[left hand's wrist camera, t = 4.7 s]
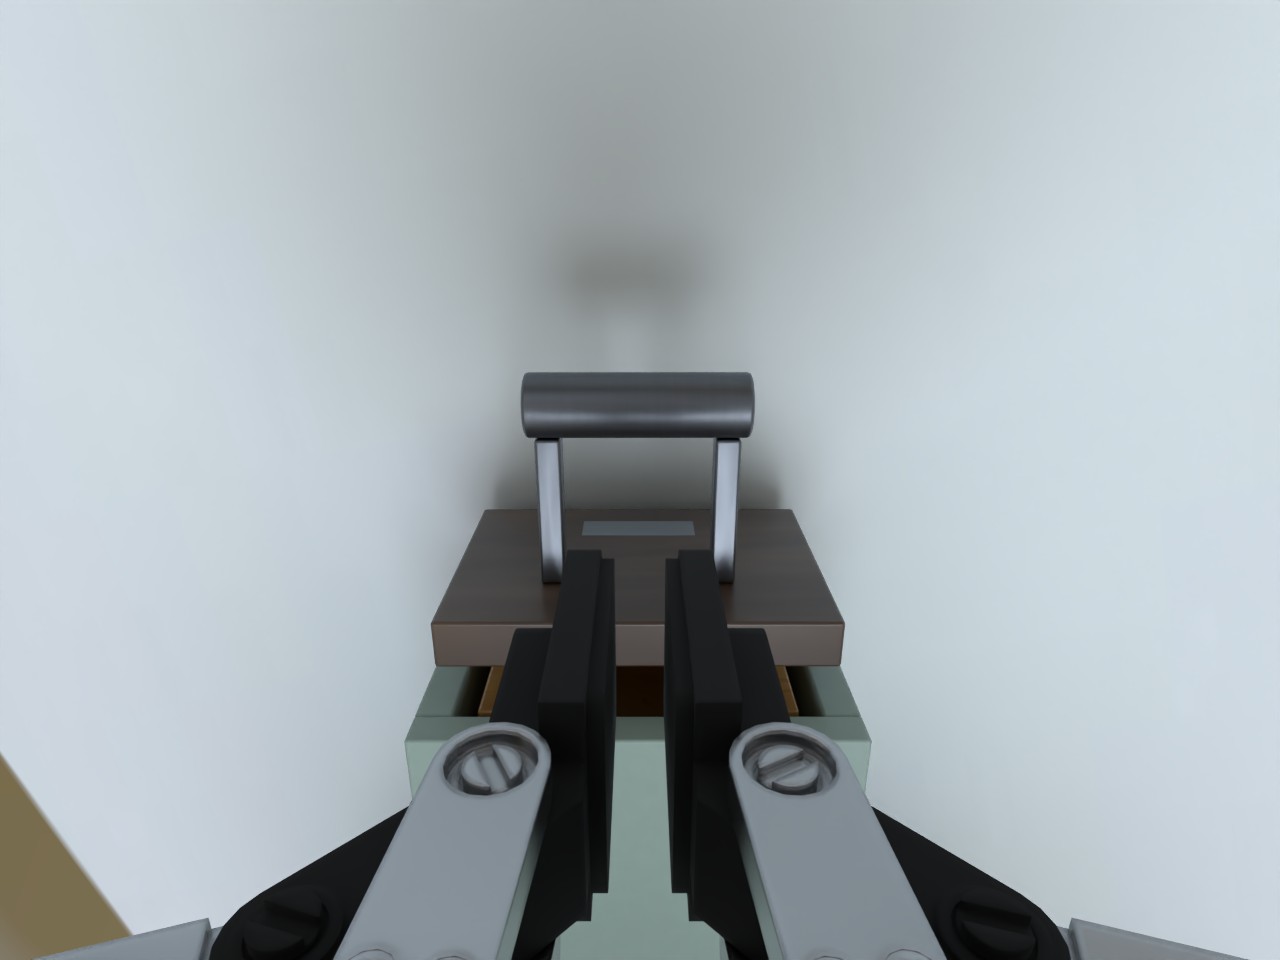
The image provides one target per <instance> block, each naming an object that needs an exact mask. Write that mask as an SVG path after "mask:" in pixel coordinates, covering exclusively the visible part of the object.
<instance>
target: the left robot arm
mask: <svg viewBox="0 0 1280 960" xmlns="http://www.w3.org/2000/svg"><path fill="white" fill-rule="evenodd" d="M615 734H616V629H615V561H614V558H602V551H601V550H568V551H567V556H566V561H565V566H564V571H563V576H562V581H561V586H560V591H559V596H558V601H557V606H556V611H555V616H554V621H553V626H552V628H517V629H515V632H514V634H513V638H512V641H511V645H510V649H509V652H508V656H507V659H506V663H505V666H504V670H503V673H502V677H501V681H500V684H499V688H498V691H497V695H496V698H495V702H494V706H493V709H492V713H491V716H490V720H489V723H486V724H482V725H478V726H474V727H470V728H468V729H466V730H464V731H462V732H460V733H458V734H455V735H454V736H453V737H452V738H450V739H449V740H448V741H446V742H445V743H444V744H443V745H442V746H441V747H440V748H439V750H438V751H437V753H436V754H435V755H434V757H433V758H432V761H431V763H430V765H429V767H428V769H427V771H426V773H425V775H424V777H423V779H422V781H421V783H420V785H419V787H418V789H417V791H416V793H415V795H414V797H413V799H412V801H411V803H410V805H409V806H408V807H406V808H405V809H403V810H401V811H399V812H398V813H396V814H394V815H393V816H391V817H389V818H388V819H386V820H384V821H382V822H381V823H379V824H377V825H376V826H374V827H372V828H371V829H369V830H367V831H365V832H364V833H362V834H360V835H359V836H357V837H355V838H354V839H352V840H350V841H349V842H347V843H345V844H343V845H342V846H340V847H338V848H337V849H335V850H333V851H332V852H330V853H328V854H326V855H325V856H323V857H321V858H320V859H318V860H316V861H315V862H313V863H311V864H309V865H308V866H306V867H304V868H303V869H301V870H299V871H298V872H296V873H294V874H292V875H291V876H289V877H287V878H286V879H284V880H282V881H281V882H279V883H277V884H275V885H274V886H272V887H270V888H269V889H267V890H265V891H264V892H262V893H260V894H259V895H257V896H256V897H255V898H253V899H252V900H250V901H249V902H248V903H246V904H245V905H244V906H242V907H241V908H240V909H239V910H238V911H237V912H236V913H235V914H234V915H233V916H232V917H231V918H230V919H229V920H228V922H227V923H226V924H225V925H224V926H222V927H218V928H214V929H211V926H210V922H209V918H205V919H201V920H197V921H193V922H188V923H184V924H180V925H176V926H172V927H167V928H163V929H159V930H155V931H150V932H146V933H142V934H138V935H134V936H129V937H125V938H121V939H117V940H112V941H108V942H104V943H100V944H96V945H91V946H87V947H83V948H79V949H75V950H70V951H66V952H62V953H58V954H53V955H49V956H45V957H41V958H37V959H32V960H560V949H561V937H560V935H561V934H562V933H563V932H564V931H566V930H567V929H568V928H569V927H570V926H572V925H573V924H574V923H575V922H576V921H591V916H592V901H593V893H608V889H609V868H610V846H611V823H612V801H613V778H614V756H615ZM664 734H665V756H666V779H667V801H668V824H669V846H670V869H671V890H672V893H687V901H688V916H689V921H704V922H705V923H706V924H707V925H708V926H710V927H711V928H712V929H713V930H714V931H716V932H717V933H718V934H719V935H720V937H719V949H720V960H1248V959H1243V958H1239V957H1235V956H1231V955H1227V954H1222V953H1218V952H1214V951H1210V950H1206V949H1201V948H1197V947H1193V946H1189V945H1184V944H1180V943H1176V942H1172V941H1168V940H1163V939H1159V938H1155V937H1151V936H1146V935H1142V934H1138V933H1134V932H1130V931H1125V930H1121V929H1117V928H1113V927H1108V926H1104V925H1100V924H1096V923H1092V922H1087V921H1083V920H1079V919H1075V918H1071V922H1070V925H1069V929H1066V928H1062V927H1058V926H1056V925H1055V924H1054V923H1053V922H1052V920H1051V919H1050V918H1049V917H1048V916H1047V915H1046V914H1045V913H1044V912H1043V911H1042V910H1041V909H1040V908H1039V907H1038V906H1036V905H1035V904H1034V903H1032V902H1031V901H1029V900H1028V899H1027V898H1025V897H1024V896H1023V895H1021V894H1020V893H1018V892H1016V891H1015V890H1013V889H1011V888H1010V887H1008V886H1006V885H1005V884H1003V883H1001V882H999V881H998V880H996V879H994V878H993V877H991V876H989V875H988V874H986V873H984V872H982V871H981V870H979V869H977V868H976V867H974V866H972V865H971V864H969V863H967V862H965V861H964V860H962V859H960V858H959V857H957V856H955V855H954V854H952V853H950V852H948V851H947V850H945V849H943V848H942V847H940V846H938V845H937V844H935V843H933V842H931V841H930V840H928V839H926V838H925V837H923V836H921V835H920V834H918V833H916V832H914V831H913V830H911V829H909V828H908V827H906V826H904V825H903V824H901V823H899V822H897V821H896V820H894V819H892V818H891V817H889V816H887V815H886V814H884V813H882V812H881V811H879V810H877V809H875V808H874V807H872V806H871V805H870V803H869V801H868V799H867V797H866V795H865V793H864V791H863V789H862V787H861V785H860V783H859V781H858V779H857V777H856V775H855V773H854V771H853V769H852V767H851V765H850V763H849V761H848V758H847V757H846V755H845V754H844V753H843V751H842V750H841V748H840V747H839V746H838V745H837V744H836V743H835V742H834V741H832V740H831V739H830V738H828V737H827V736H826V735H825V734H822V733H820V732H818V731H816V730H814V729H812V728H810V727H806V726H802V725H798V724H794V723H791V720H790V716H789V713H788V709H787V706H786V702H785V698H784V695H783V691H782V688H781V684H780V681H779V677H778V674H777V670H776V666H775V663H774V659H773V656H772V652H771V649H770V645H769V641H768V638H767V634H766V632H765V629H763V628H728V626H727V621H726V616H725V611H724V606H723V601H722V596H721V591H720V586H719V581H718V576H717V571H716V566H715V561H714V556H713V551H712V550H679V551H678V558H666V561H665V628H664Z"/></svg>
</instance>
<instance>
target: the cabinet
mask: <svg viewBox="0 0 1280 960" xmlns="http://www.w3.org/2000/svg"><path fill="white" fill-rule="evenodd" d="M491 667H492V666H469V667H438V666H436V668H435V671H434V673H433V675H432V678H431V680H430V682H429V685H428V687H427V689H426V692H425V694H424V697H423V699H422V701H421V704H420V706H419V708H418V711H417V713H416V716H415V718H414V720H413V723H412V725H411V727H410V730H409V732H408V735H407V737H406V739H405V749H406V756H407V763H408V771H409V778H410V786H411V793H412V799H413V797H414V795H415V793H416V791H417V789H418V787H419V785H420V783H421V781H422V779H423V777H424V775H425V773H426V771H427V769H428V767H429V765H430V763H431V761H432V758H433V757H434V755H435V754H436V753H437V751H438V750H439V748H440V747H441V746H442V745H443V744H444V743H445V742H446V741H448V740H449V739H450V738H452V737H453V736H454V735H455V734H458V733H460V732H462V731H464V730H466V729H468V728H470V727H474V726H478V725H482V724H486V723H489V720H490V717H478V709H479V706H480V702H481V699H482V696H483V693H484V689H485V686H486V683H487V680H488V676H489V673H490V670H491ZM785 667H786V671H787V674H788V677H789V680H790V684H791V687H792V690H793V694H794V697H795V700H796V704H797V707H798V710H799V717H790V720H791V723H794V724H798V725H802V726H806V727H810V728H812V729H814V730H816V731H818V732H820V733H822V734H825V735H826V736H827V737H828V738H830V739H831V740H832V741H834V742H835V743H836V744H837V745H838V746H839V747H840V748H841V750H842V751H843V753H844V754H845V755H846V757H847V758H848V761H849V763H850V765H851V767H852V769H853V771H854V773H855V775H856V777H857V779H858V781H859V783H860V785H861V787H862V789H863V791H864V793H865V787H866V779H867V772H868V764H869V756H870V749H871V739H870V737H869V734H868V732H867V729H866V727H865V725H864V722H863V720H862V718H861V715H860V713H859V710H858V708H857V706H856V703H855V701H854V698H853V696H852V694H851V691H850V689H849V686H848V684H847V682H846V679H845V677H844V674H843V672H842V670H841V667H840V666H785ZM560 937H561V949H560V960H720V949H719V937H720V935H719V934H718V933H717V932H716V931H714V930H713V929H712V928H711V927H710V926H708V925H707V924H706V923H705V922H704V921H689V916H688V901H687V893H672V890H671V869H670V846H669V824H668V801H667V779H666V756H665V734H664V717H616V734H615V756H614V778H613V801H612V823H611V846H610V868H609V889H608V893H593V901H592V916H591V921H576V922H575V923H574V924H573V925H572V926H570V927H569V928H568V929H567V930H566V931H564V932H563V933H562V934H561V935H560Z"/></svg>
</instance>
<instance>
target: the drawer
mask: <svg viewBox="0 0 1280 960" xmlns="http://www.w3.org/2000/svg"><path fill="white" fill-rule="evenodd" d="M754 411H755V393H754V383H753V378H752V376H751V374H750V373H748V372H540V373H526V374H525V375H524V377H523V380H522V387H521V419H522V426H523V431H524V434H525V436H526V437H528V438H536V439H535V442H534V444H535V464H536V483H537V502H538V510H485V511H484V513H483V516H482V518H481V520H480V522H479V524H478V526H477V528H476V530H475V532H474V534H473V536H472V539H471V541H470V543H469V545H468V547H467V549H466V551H465V553H464V555H463V557H462V560H461V562H460V564H459V566H458V568H457V570H456V572H455V574H454V576H453V578H452V580H451V583H450V585H449V587H448V589H447V591H446V593H445V595H444V597H443V599H442V601H441V603H440V606H439V608H438V610H437V612H436V614H435V616H434V618H433V620H432V622H431V630H432V639H433V648H434V657H435V664H436V666H438V667H469V666H492V667H491V670H490V673H489V676H488V680H487V683H486V686H485V689H484V693H483V696H482V699H481V702H480V706H479V709H478V717H490V716H491V713H492V709H493V706H494V702H495V698H496V695H497V691H498V688H499V684H500V681H501V677H502V673H503V670H504V666H505V663H506V659H507V656H508V652H509V649H510V645H511V641H512V638H513V634H514V632H515V629H517V628H552V626H553V621H554V616H555V611H556V606H557V601H558V596H559V591H560V586H561V581H562V576H563V571H564V566H565V561H566V556H567V551H568V550H601V551H602V558H614V561H615V629H616V717H664V628H665V561H666V558H678V551H679V550H712V551H713V556H714V561H715V566H716V571H717V576H718V581H719V586H720V591H721V596H722V601H723V606H724V611H725V616H726V621H727V626H728V628H763V629H765V632H766V634H767V638H768V641H769V645H770V649H771V652H772V656H773V659H774V663H775V666H776V670H777V674H778V677H779V681H780V684H781V688H782V691H783V695H784V698H785V702H786V706H787V709H788V713H789V716H790V717H799V710H798V707H797V704H796V700H795V697H794V694H793V690H792V687H791V684H790V680H789V677H788V674H787V671H786V667H785V666H840V664H841V656H842V647H843V638H844V629H845V623H844V620H843V618H842V616H841V614H840V612H839V610H838V607H837V605H836V603H835V601H834V599H833V597H832V595H831V592H830V590H829V588H828V586H827V584H826V582H825V580H824V577H823V575H822V573H821V571H820V569H819V567H818V565H817V563H816V560H815V558H814V556H813V554H812V552H811V550H810V548H809V545H808V543H807V541H806V539H805V537H804V535H803V533H802V530H801V528H800V526H799V524H798V522H797V520H796V518H795V515H794V513H793V511H792V510H790V509H738V501H739V480H740V459H741V440H740V438H747V437H749V436H750V435H751V433H752V429H753V424H754ZM562 438H714V443H713V472H712V500H711V509H606V510H565V499H564V473H563V447H562Z"/></svg>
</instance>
